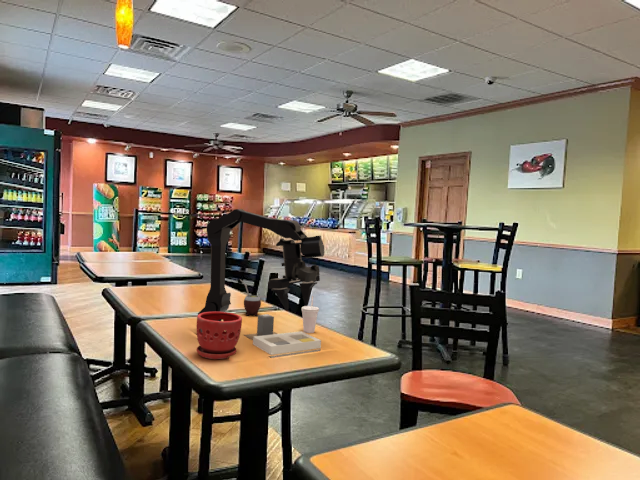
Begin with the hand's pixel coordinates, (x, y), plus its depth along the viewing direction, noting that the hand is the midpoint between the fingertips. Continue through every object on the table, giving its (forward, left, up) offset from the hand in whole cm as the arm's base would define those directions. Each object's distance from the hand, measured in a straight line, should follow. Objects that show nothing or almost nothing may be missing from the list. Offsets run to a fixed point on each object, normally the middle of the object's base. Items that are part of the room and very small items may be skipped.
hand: (296, 307), depth 153 cm
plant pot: (-26, +2, -14) cm, 29 cm away
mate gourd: (+7, +47, -13) cm, 50 cm away
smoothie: (+13, +12, -13) cm, 23 cm away
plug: (-5, +12, -12) cm, 18 cm away
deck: (-5, +12, -13) cm, 19 cm away
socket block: (-4, -1, -13) cm, 14 cm away
